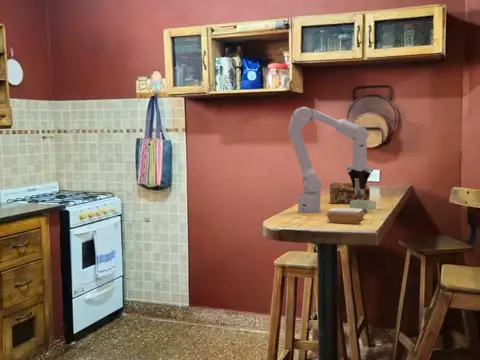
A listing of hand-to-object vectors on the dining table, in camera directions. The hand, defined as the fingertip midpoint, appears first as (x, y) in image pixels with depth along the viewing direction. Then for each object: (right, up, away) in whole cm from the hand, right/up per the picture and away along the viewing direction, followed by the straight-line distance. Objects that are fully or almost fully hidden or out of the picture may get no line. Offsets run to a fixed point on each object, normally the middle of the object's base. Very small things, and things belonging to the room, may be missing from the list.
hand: (359, 188), depth 233 cm
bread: (+3, -8, +36) cm, 37 cm away
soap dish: (-10, -13, -23) cm, 28 cm away
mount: (-2, -11, -4) cm, 12 cm away
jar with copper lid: (0, -3, 0) cm, 3 cm away
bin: (+3, -10, +9) cm, 14 cm away
